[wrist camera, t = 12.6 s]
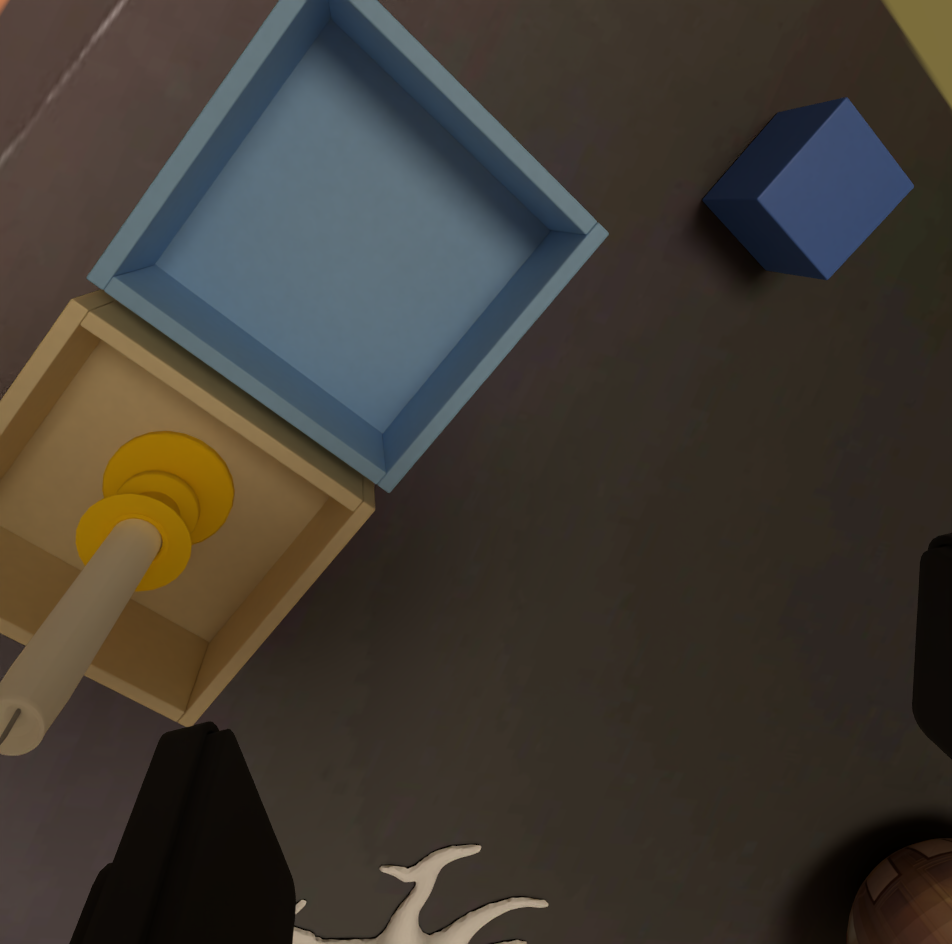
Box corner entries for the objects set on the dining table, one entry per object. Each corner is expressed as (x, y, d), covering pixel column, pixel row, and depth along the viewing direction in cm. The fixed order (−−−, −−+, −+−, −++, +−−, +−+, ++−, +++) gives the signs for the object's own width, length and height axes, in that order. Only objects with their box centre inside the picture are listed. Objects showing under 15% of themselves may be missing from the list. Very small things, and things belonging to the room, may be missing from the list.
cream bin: (-38, 510, 30) (-120, 573, 25) (124, 281, 27) (71, 298, 22) (215, 650, 34) (189, 729, 29) (373, 461, 32) (376, 510, 27)
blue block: (701, 200, 30) (756, 199, 26) (777, 111, 29) (847, 96, 25) (765, 270, 31) (827, 281, 27) (840, 189, 31) (915, 186, 26)
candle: (86, 444, 29) (-184, 679, 15) (214, 418, 29) (74, 623, 15) (130, 554, 31) (-71, 859, 16) (249, 529, 31) (155, 804, 17)
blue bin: (136, 264, 27) (85, 278, 22) (327, -6, 25) (319, -59, 20) (384, 447, 31) (389, 494, 26) (566, 229, 29) (610, 233, 24)
